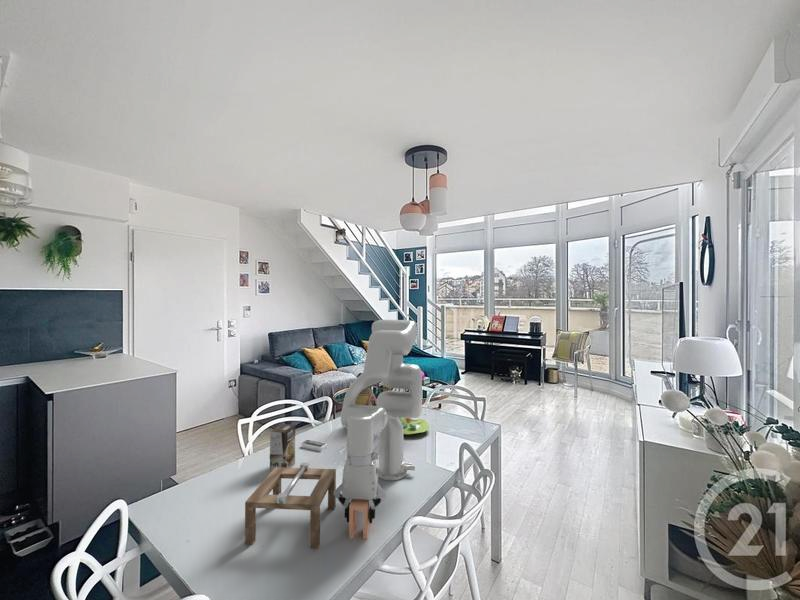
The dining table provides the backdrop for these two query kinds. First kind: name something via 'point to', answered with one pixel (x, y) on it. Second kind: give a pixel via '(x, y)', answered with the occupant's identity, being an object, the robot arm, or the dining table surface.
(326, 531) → the dining table surface
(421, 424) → the flower ornament
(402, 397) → the robot arm
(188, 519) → the dining table surface
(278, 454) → the coffee box
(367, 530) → the slotted peach block
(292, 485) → the metal guide rod
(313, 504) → the open wooden frame
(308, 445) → the multiport hub
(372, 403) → the ceramic jug
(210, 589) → the dining table surface
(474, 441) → the dining table surface
